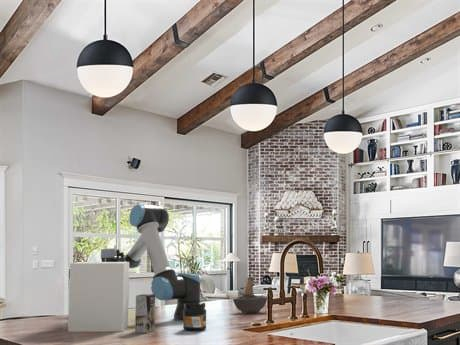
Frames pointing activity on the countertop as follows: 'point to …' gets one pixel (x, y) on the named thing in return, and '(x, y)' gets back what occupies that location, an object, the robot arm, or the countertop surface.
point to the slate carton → (107, 253)
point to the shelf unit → (98, 296)
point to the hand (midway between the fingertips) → (110, 247)
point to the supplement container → (194, 316)
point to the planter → (250, 300)
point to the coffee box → (145, 313)
